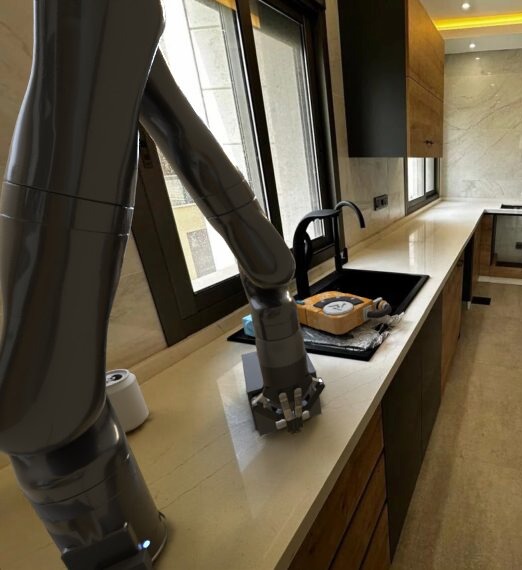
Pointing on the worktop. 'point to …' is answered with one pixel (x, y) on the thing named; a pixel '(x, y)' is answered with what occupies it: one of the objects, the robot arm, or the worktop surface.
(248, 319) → the teapot
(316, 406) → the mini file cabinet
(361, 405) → the worktop surface
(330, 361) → the worktop surface
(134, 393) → the can
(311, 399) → the robot arm
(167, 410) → the worktop surface
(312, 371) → the gray drawer box
